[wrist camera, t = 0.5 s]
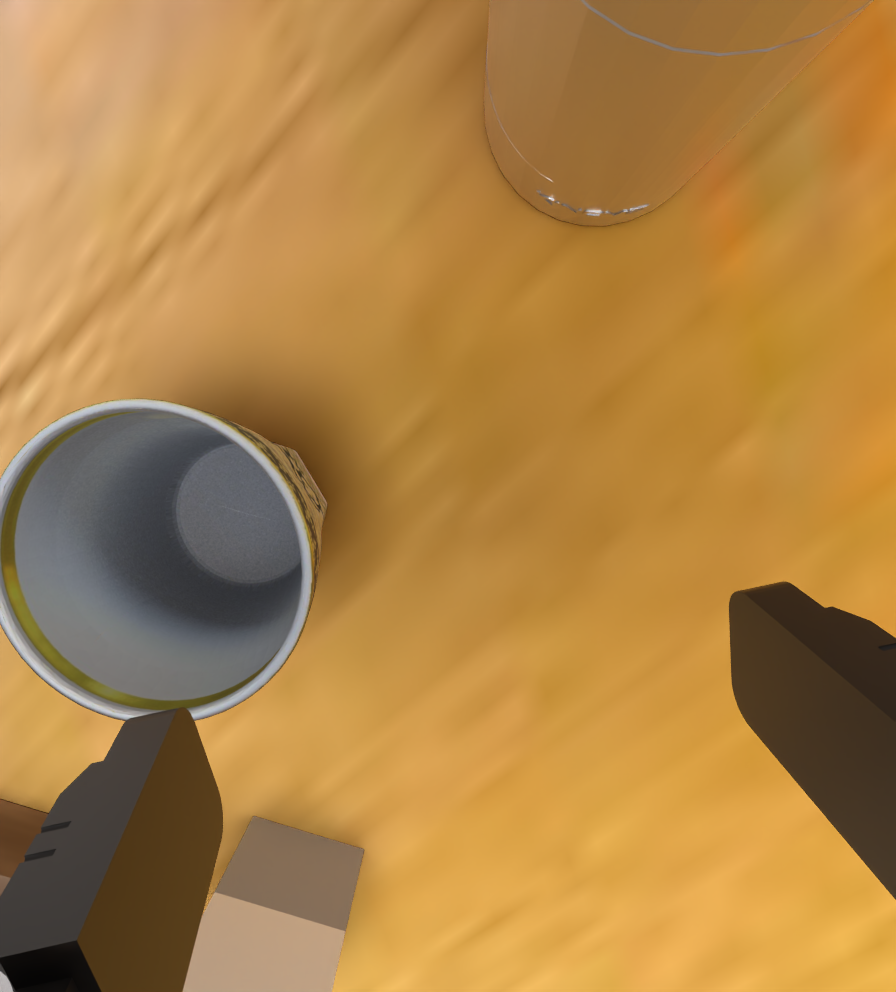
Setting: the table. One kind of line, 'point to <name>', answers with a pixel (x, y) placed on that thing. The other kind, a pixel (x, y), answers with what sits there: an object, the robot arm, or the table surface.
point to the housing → (276, 914)
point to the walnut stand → (16, 836)
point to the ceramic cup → (156, 557)
